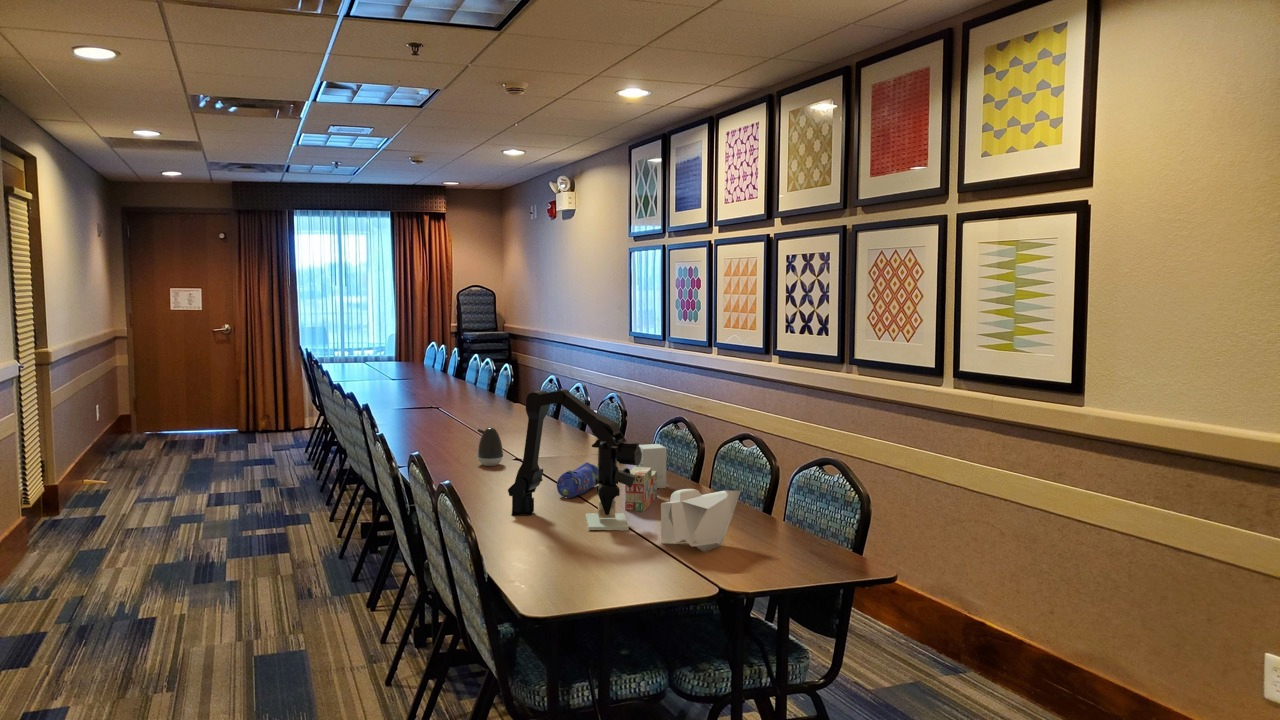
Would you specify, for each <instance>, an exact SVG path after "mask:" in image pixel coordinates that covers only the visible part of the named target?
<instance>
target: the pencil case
mask: <svg viewBox="0 0 1280 720" xmlns="http://www.w3.org/2000/svg"><path fill="white" fill-rule="evenodd" d="M597 475H598V467H597V465H595V464H594V463H591V462H585V463H582V464H581V465H579V467H577V468H575V469H573V470H570V469H568V471H566V472H564V473H562V474H561V475H560V476H559V478H557V483H556V489H557V493H558V495H560V496H561V497H563V498H564V497H567V498H566V499H571V497H572V498H575V497H577V496H579V495H581V494H584V493H586V492H587V491H589V490H590V489H592V488H593V487H596V486H597V485H596V484H595V477H596V476H597Z"/></svg>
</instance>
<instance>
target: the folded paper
mask: <svg viewBox="0 0 1280 720" xmlns="http://www.w3.org/2000/svg"><path fill="white" fill-rule="evenodd" d="M741 492H742V491H741V490H721V491H715V492H710V493H706V494H702V493H701V492H700V491H699V490H698V489H696V488H695V489H694V488H684V489H683V488H682V489H679V490H674V491H673V492H672V493H671V495H670V499H669V500H670V501H667V502H661V503H660V533H661V534H660V536H661V537H660V538H661V541H660V543H661V544H679V543H688V545H689V546H691V547H696V548H697V549H699V550H701V551H702V552H704V553H706V552H709V551H711V550H713V548H714V549H716V548H718V547H721V546H722V545H723V542H724V539H725V537H726V534H727V532H728V529H729V526H730V524H731V520H732V519H733V515H734V513H735V510H736V507H737V503H738V501H739V497H740V496H741V495H740V494H741ZM708 550H709V551H708ZM705 551H706V552H705Z"/></svg>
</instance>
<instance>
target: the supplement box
mask: <svg viewBox="0 0 1280 720" xmlns="http://www.w3.org/2000/svg"><path fill="white" fill-rule="evenodd" d="M639 447H640V449H641V452H642V458H641V462H640V464H639V465H635V467H648V468H652V471H657V488H659V489H667V447H666V446H663V445H662V444H659V443H652V444H651V443H650V444H639Z"/></svg>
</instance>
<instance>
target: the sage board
mask: <svg viewBox="0 0 1280 720" xmlns="http://www.w3.org/2000/svg"><path fill="white" fill-rule="evenodd" d="M585 520H587V521H586V526H587V525H588V526H587V530H620V531H629V524H628V521H627V519H626V516H625V513H624V512H615V518H599V516H598V512H596V513H592V512H591V513H585Z"/></svg>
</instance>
